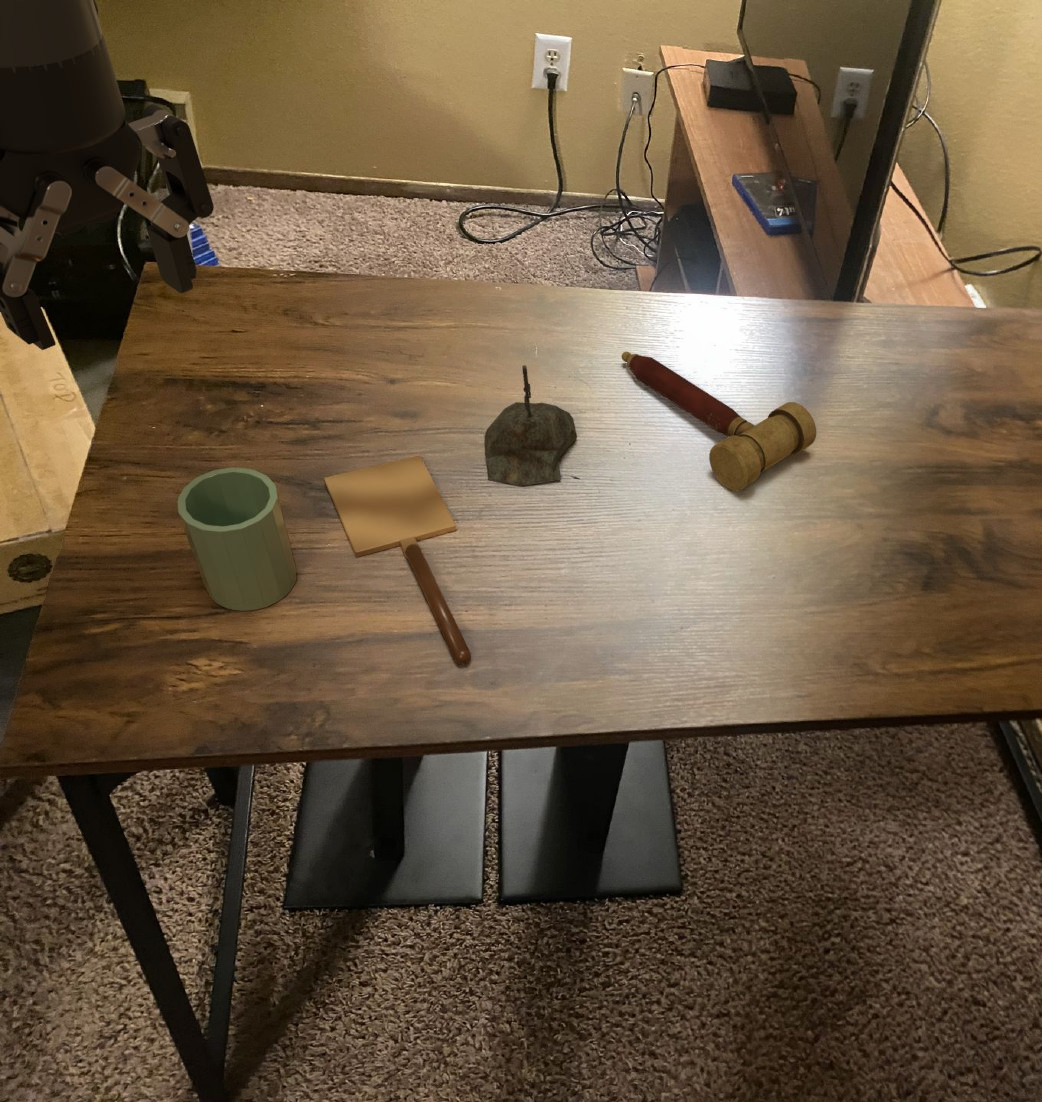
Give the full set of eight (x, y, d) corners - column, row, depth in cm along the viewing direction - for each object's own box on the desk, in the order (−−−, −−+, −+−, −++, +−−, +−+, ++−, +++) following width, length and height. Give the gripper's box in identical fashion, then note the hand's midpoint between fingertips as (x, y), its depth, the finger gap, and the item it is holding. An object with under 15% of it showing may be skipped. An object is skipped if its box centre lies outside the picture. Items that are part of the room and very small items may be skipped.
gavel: (585, 352, 94) (660, 317, 100) (585, 392, 97) (658, 356, 103) (749, 460, 85) (821, 415, 91) (742, 500, 88) (813, 454, 94)
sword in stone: (498, 405, 92) (495, 294, 83) (582, 420, 92) (589, 310, 84) (469, 478, 85) (464, 364, 76) (561, 493, 85) (566, 382, 77)
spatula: (324, 482, 82) (322, 472, 81) (420, 459, 85) (419, 449, 84) (410, 685, 70) (409, 675, 69) (518, 649, 74) (518, 639, 73)
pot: (193, 606, 72) (162, 525, 66) (223, 544, 76) (197, 462, 70) (282, 615, 72) (260, 535, 66) (307, 552, 77) (288, 472, 70)
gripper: (107, -26, 53) (182, 246, 65) (-203, 29, 44) (-51, 332, 56) (196, 23, 51) (257, 296, 62) (-111, 92, 42) (27, 394, 54)
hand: (112, 313), depth 59 cm, fingers open, 8 cm apart
